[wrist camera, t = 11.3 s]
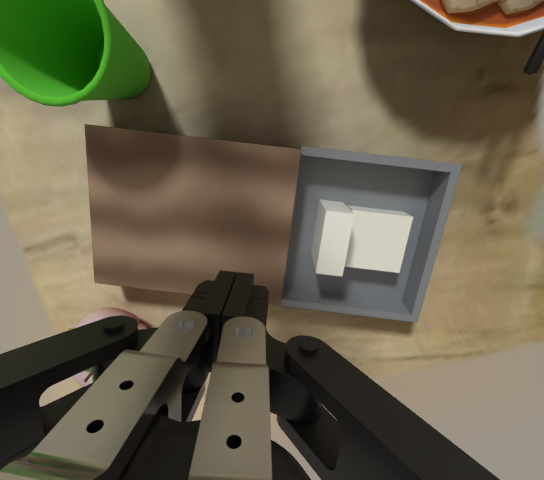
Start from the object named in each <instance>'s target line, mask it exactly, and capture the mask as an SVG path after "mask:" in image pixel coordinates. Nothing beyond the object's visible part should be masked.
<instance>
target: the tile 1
mask: <svg viewBox="0 0 544 480" xmlns="http://www.w3.org/2000/svg"><path fill="white" fill-rule="evenodd" d="M353 219H354V213H353V212H352V211H351V210H350V209H349V208H348V207H347V206H346V205H345V204H344V203H343V202H337V201H329V200H320V199H319V204H318V211H317V217H316V223H315V230H314V236H313V243H312V249H311V255H312V259H313V263H314V268H315V272H316V273H317V274H325V275H334V276H343V271H344V266H345V261H346V255H347V250H348V245H349V240H350V235H351V229H352V224H353Z"/></svg>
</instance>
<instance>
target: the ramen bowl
mask: <svg viewBox="0 0 544 480" xmlns="http://www.w3.org/2000/svg"><path fill="white" fill-rule="evenodd" d="M410 1H412V2H413V3H414V4H416V5H417V6H419V7H420V8H422V9H423V10H425V11H426V12H428V13H429V14H430V15H432V16H433V17H435V18H436V19H438V20H439V21H441V22H442V23H443V24H445V25H446V26H448V27H449V28H451V29H453V30H455V31H463V32H472V33H481V34H490V35H500V36H509V37H522V36H525V35H528V34H532V33H535V32H538V31H542V30H544V0H410ZM543 59H544V31H543V33H542V35H541V37H540V39H539V41H538V43H537V45H536V47H535V49H534V51H533V53H532V55H531V57H530V58H529V60H528V62H527V64H526V66H525V68H524V70H523V72H524V73H527V74H529V75H531V74H534V73H537V71H538V69H539V67H540V65H541V63H542V61H543Z"/></svg>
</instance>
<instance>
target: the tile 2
mask: <svg viewBox="0 0 544 480" xmlns="http://www.w3.org/2000/svg"><path fill="white" fill-rule="evenodd" d="M348 208H349V209H350V210H351V211H352V212H353V213H354V219H353V224H352V229H351V235H350V240H349V245H348V250H347V255H346V261H345V266H344V267H353V268H361V269H370V270H378V271H387V272H395V273H400V269H401V265H402V261H403V257H404V253H405V249H406V244H407V240H408V236H409V232H410V228H411V224H412V220H413V217H412V216H411V215H409V214H407V213H405V212H401V211H392V210H384V209H375V208H366V207H358V206H349V205H348Z"/></svg>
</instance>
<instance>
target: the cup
mask: <svg viewBox="0 0 544 480" xmlns="http://www.w3.org/2000/svg"><path fill="white" fill-rule="evenodd" d="M150 73H151V71H150V64H149V61H148V58H147V56H146V54H145V53H144V51H143V50H142V49H141V47H140V46H139V45H138V44H137V43H136V41H135V40H134V39H133V38H132V37H131V35H130V34H129V33H128V32H127V31H126V29H125V28H124V27H123V26H122V25H121V23H120V22H119V21H118V20H117V19H116V17H115V16H114V15H113V14H112V13H111V11H110V10H109V9H108V8H107V7H106V5H105V4H104V1H103V0H0V77H1V78H2V79H3V80H4V81H6V82H7V83H8V84H9V85H10V86H11V87H12V88H13V89H14V90H15V91H17V92H18V93H20V94H21V95H23V96H25V97H26V98H28V99H30V100H32V101H35V102H38V103H41V104H44V105H48V106H67V105H72V104H76V103H78V102H80V101H85V100H111V99H130V98H135V97H137V96H139V95H140V94H141V93H143V92H144V91H145V89H146V87H147V86H148V84H149V80H150Z"/></svg>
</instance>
